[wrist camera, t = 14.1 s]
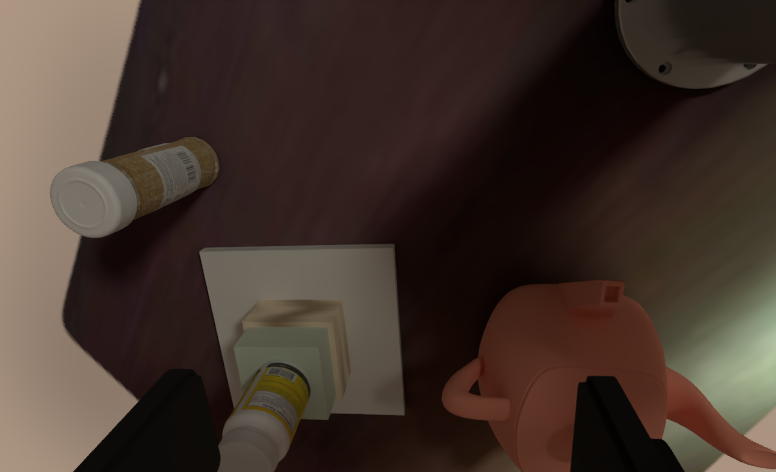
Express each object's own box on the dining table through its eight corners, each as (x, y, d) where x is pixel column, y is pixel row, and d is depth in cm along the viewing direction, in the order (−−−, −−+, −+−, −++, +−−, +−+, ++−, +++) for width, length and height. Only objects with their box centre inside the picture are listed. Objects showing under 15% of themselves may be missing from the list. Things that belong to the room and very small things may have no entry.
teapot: (569, 218, 37) (634, 293, 25) (690, 349, 40) (803, 476, 28) (429, 330, 42) (423, 438, 30) (545, 438, 45) (584, 580, 33)
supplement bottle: (276, 413, 38) (231, 503, 30) (245, 370, 36) (190, 452, 29) (323, 395, 36) (291, 483, 29) (293, 350, 35) (250, 429, 27)
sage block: (327, 327, 38) (318, 347, 35) (336, 395, 40) (328, 419, 37) (248, 326, 39) (233, 346, 36) (261, 393, 41) (248, 417, 38)
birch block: (342, 299, 41) (332, 322, 37) (350, 372, 44) (342, 400, 40) (259, 300, 42) (241, 321, 39) (272, 371, 45) (257, 398, 41)
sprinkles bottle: (168, 135, 39) (37, 165, 26) (218, 137, 38) (109, 167, 26) (176, 187, 40) (56, 238, 28) (224, 189, 40) (124, 241, 27)
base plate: (394, 243, 40) (393, 247, 39) (405, 408, 46) (404, 415, 45) (204, 247, 42) (199, 251, 41) (238, 403, 48) (234, 410, 47)
